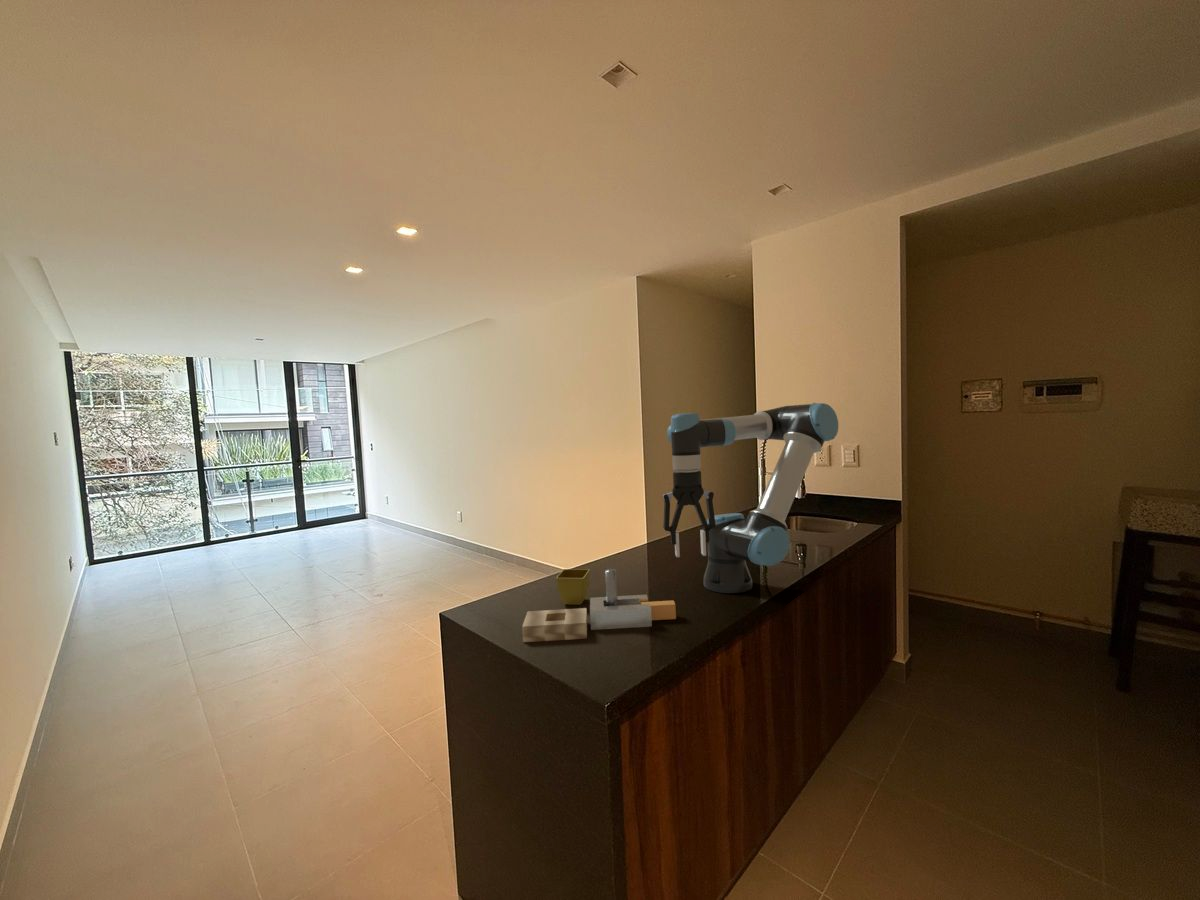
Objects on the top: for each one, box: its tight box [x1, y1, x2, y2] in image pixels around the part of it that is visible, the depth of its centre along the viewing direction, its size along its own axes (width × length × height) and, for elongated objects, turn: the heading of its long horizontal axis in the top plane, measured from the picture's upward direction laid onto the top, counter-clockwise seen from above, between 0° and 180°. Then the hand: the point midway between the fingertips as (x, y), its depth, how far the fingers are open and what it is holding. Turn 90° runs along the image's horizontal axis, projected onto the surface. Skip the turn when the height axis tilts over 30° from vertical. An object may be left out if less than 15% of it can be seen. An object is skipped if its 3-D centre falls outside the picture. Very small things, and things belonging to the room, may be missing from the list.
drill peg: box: [604, 568, 618, 606], centre depth 129 cm, size 3×3×14 cm
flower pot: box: [555, 568, 591, 606], centre depth 145 cm, size 9×9×9 cm
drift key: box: [641, 600, 677, 621], centre depth 130 cm, size 9×3×4 cm, turn 91°
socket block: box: [589, 594, 653, 631], centre depth 129 cm, size 16×10×5 cm, turn 91°
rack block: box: [521, 607, 588, 643], centre depth 124 cm, size 16×10×4 cm, turn 91°
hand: (690, 555), depth 129 cm, fingers open, 6 cm apart
